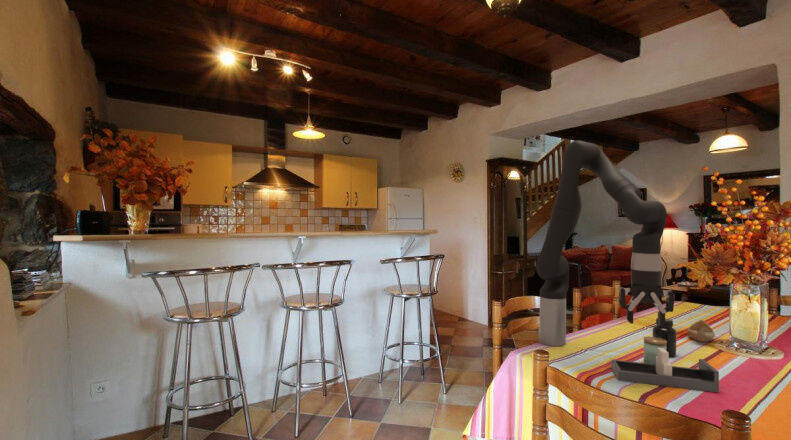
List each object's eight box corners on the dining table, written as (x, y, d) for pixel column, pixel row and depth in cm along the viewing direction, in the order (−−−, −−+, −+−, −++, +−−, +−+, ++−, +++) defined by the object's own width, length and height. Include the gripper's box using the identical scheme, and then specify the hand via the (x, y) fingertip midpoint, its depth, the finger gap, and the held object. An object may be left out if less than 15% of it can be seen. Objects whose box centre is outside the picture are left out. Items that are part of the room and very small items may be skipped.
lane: (618, 380, 112) (618, 361, 112) (611, 367, 122) (611, 349, 122) (718, 392, 104) (718, 372, 104) (702, 378, 114) (702, 359, 114)
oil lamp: (686, 344, 145) (687, 317, 145) (686, 331, 162) (686, 307, 162) (716, 349, 140) (717, 321, 139) (712, 335, 157) (713, 310, 157)
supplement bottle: (680, 358, 130) (680, 322, 130) (657, 356, 131) (658, 321, 131) (670, 351, 137) (670, 317, 137) (648, 349, 138) (649, 316, 138)
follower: (663, 381, 110) (663, 354, 110) (655, 372, 117) (655, 346, 116) (671, 382, 109) (672, 355, 109) (663, 372, 116) (663, 346, 116)
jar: (646, 366, 123) (646, 341, 123) (641, 359, 129) (641, 335, 129) (669, 369, 121) (669, 343, 121) (662, 362, 127) (663, 337, 127)
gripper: (621, 268, 113) (620, 325, 113) (679, 271, 108) (678, 330, 108) (615, 265, 120) (615, 318, 120) (670, 267, 115) (669, 323, 115)
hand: (645, 324), depth 114 cm, fingers open, 7 cm apart
